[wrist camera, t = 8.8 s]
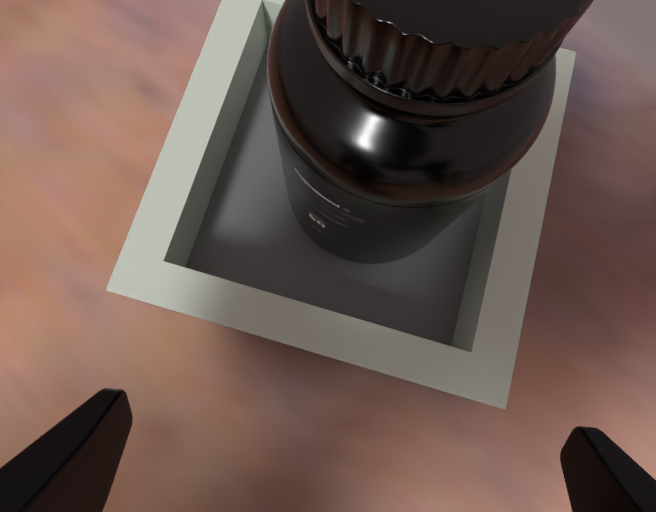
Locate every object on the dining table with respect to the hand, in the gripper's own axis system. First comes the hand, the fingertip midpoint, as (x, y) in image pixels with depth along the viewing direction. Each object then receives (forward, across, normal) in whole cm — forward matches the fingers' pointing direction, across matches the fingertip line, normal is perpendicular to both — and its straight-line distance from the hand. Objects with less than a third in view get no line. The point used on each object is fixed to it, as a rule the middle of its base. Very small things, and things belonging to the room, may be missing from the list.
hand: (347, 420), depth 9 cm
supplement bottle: (+12, -1, 0) cm, 12 cm away
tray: (+12, 0, 0) cm, 12 cm away
